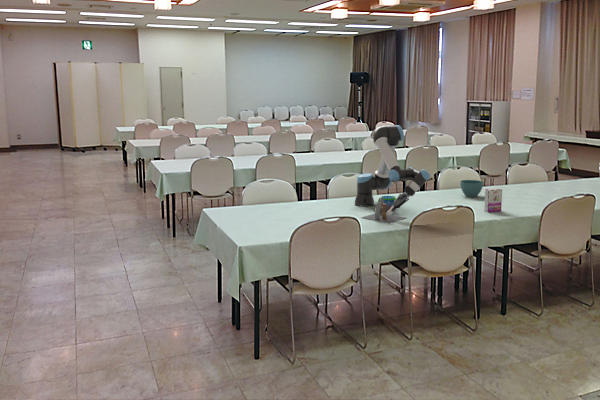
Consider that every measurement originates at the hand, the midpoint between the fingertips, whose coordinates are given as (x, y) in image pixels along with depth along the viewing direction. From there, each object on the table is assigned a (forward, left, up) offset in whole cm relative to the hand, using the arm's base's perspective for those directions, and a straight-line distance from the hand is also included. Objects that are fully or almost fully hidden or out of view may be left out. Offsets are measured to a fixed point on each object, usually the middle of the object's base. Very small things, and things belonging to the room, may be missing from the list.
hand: (388, 214), depth 392 cm
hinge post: (-12, +9, -4) cm, 15 cm away
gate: (-6, +2, -3) cm, 7 cm away
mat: (-5, +2, -4) cm, 7 cm away
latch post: (-5, -6, -4) cm, 8 cm away
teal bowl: (+3, +113, -4) cm, 113 cm away
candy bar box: (+41, +72, -4) cm, 83 cm away
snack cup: (-17, +24, -4) cm, 30 cm away
